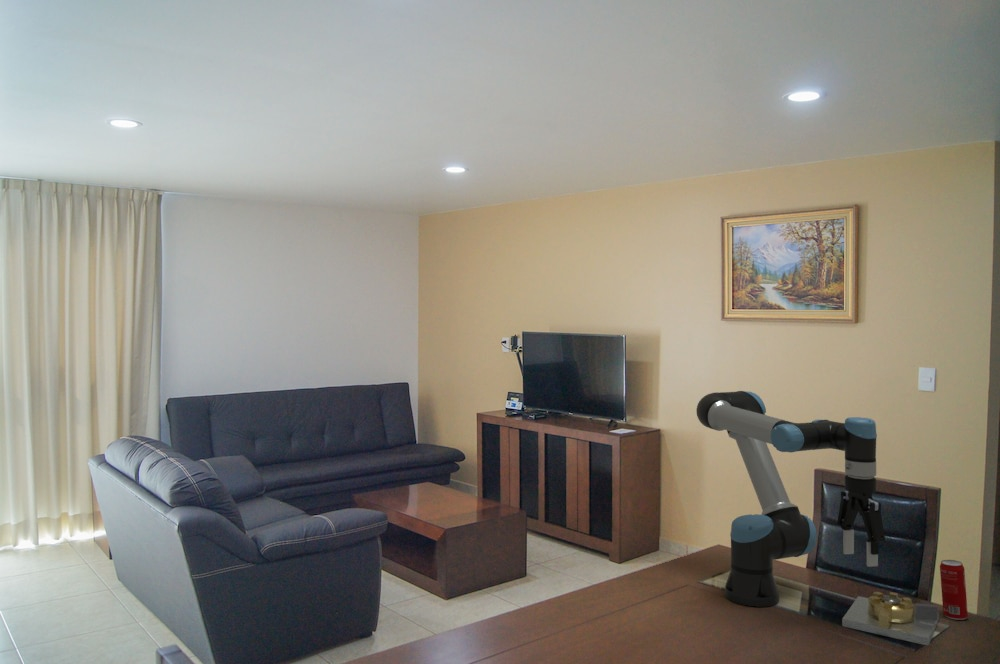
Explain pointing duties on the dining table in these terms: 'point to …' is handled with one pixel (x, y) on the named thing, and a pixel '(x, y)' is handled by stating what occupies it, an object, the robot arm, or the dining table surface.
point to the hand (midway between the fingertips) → (860, 559)
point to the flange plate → (910, 631)
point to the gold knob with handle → (890, 609)
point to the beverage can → (953, 589)
